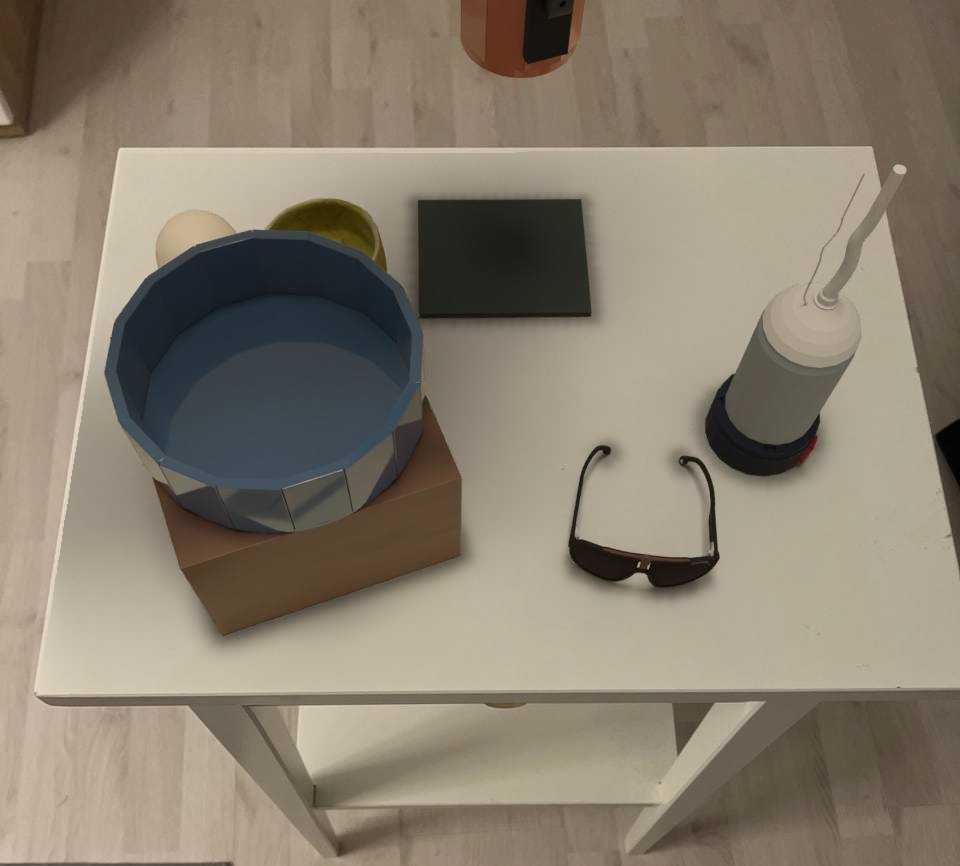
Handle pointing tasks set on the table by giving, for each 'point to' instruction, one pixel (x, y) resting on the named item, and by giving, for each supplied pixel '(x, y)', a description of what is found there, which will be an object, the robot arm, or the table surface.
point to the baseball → (189, 233)
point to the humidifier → (792, 364)
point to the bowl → (270, 379)
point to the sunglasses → (624, 564)
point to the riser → (324, 544)
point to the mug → (334, 224)
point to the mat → (502, 258)
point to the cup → (507, 37)
